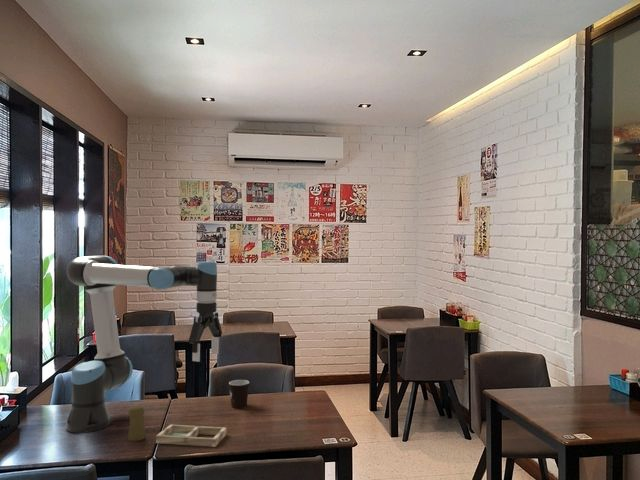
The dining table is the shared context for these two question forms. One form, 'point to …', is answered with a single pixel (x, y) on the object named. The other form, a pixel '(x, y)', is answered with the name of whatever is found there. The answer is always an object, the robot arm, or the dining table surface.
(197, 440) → the condiment rack
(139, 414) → the olive condiment shaker
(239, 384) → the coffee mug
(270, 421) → the dining table surface
